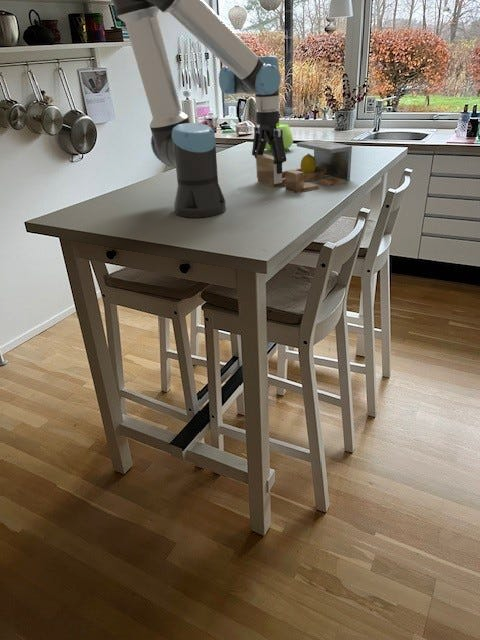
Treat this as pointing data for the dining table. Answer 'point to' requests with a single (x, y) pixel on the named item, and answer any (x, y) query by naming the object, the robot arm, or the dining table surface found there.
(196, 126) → the robot arm
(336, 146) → the shelf
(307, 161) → the lemon
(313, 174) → the wooden frame
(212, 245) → the dining table surface
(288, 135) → the green round lobed piece
